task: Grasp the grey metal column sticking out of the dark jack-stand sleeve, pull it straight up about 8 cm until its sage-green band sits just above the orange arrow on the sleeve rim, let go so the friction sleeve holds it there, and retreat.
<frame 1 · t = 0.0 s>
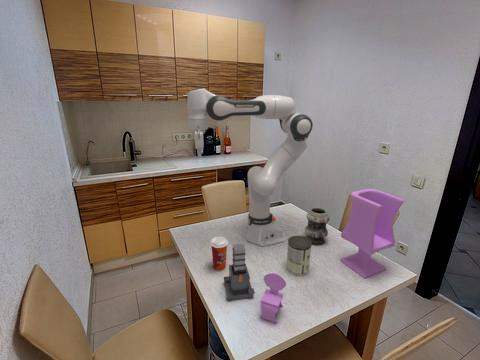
hand: (199, 154, 122), 48 cm above the table, fingers open, 8 cm apart
apothecary jar: (315, 240, 140), on the table
coffee can: (297, 268, 117), on the table
paper cup: (219, 267, 118), on the table
stand: (238, 290, 104), on the table
column: (238, 266, 100), point 11 cm above the table, slide at 0.0 cm
purple pedestal armchair: (362, 265, 120), on the table
toy chair: (271, 312, 93), on the table
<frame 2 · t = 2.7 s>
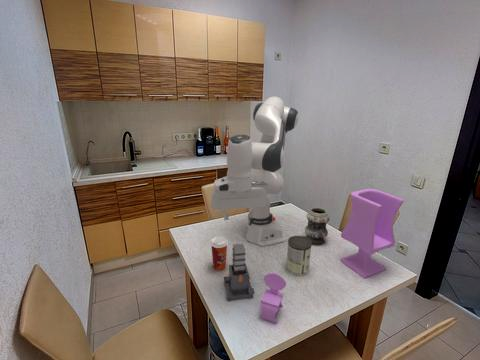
hand: (239, 218, 93), 32 cm above the table, fingers open, 8 cm apart
nothing on the table moved.
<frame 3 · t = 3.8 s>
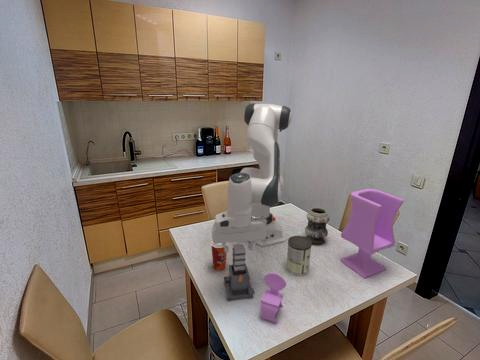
hand: (238, 250, 98), 19 cm above the table, fingers open, 8 cm apart
nothing on the table moved.
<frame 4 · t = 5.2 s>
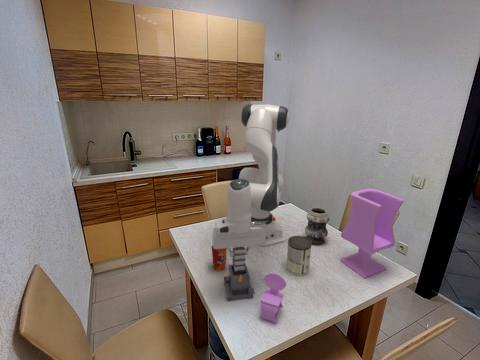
hand: (238, 255, 98), 17 cm above the table, fingers closed on column, 4 cm apart
column: (238, 266, 100), point 11 cm above the table, slide at 0.0 cm, touching gripper
everything else where it was.
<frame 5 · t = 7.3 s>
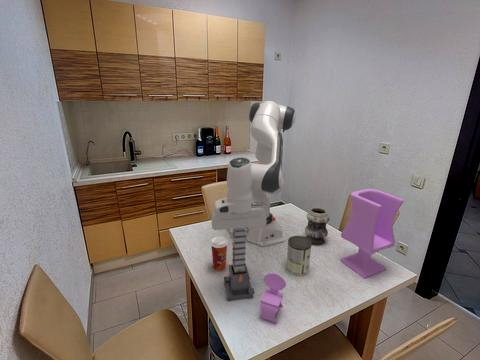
hand: (238, 237, 96), 24 cm above the table, fingers closed on column, 4 cm apart
column: (238, 250, 98), point 19 cm above the table, slide at 7.6 cm, touching gripper
everything else where it was.
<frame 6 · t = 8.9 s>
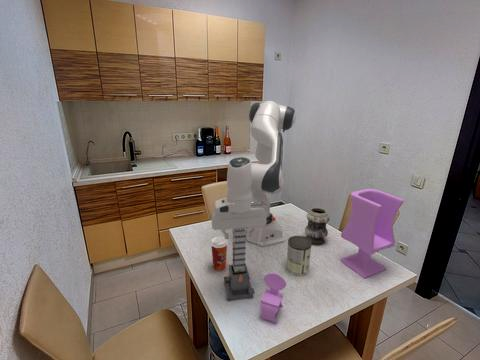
hand: (239, 237, 96), 25 cm above the table, fingers open, 8 cm apart
column: (238, 250, 98), point 19 cm above the table, slide at 7.6 cm
everything else where it was.
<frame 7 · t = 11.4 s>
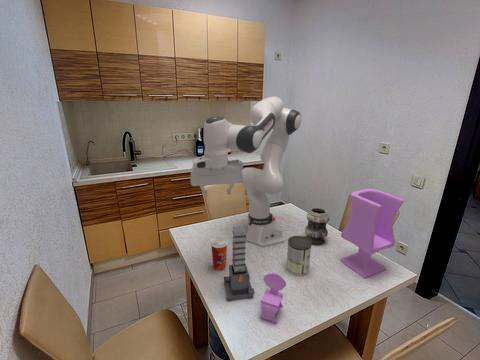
hand: (217, 194, 102), 38 cm above the table, fingers open, 8 cm apart
nothing on the table moved.
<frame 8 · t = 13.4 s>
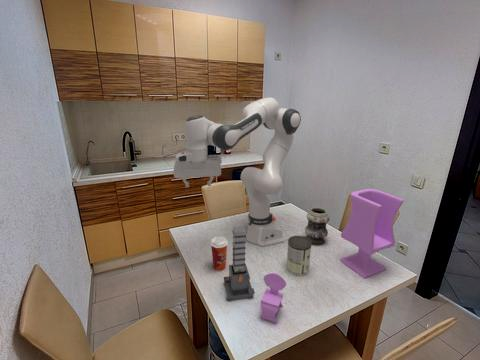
hand: (198, 186, 112), 37 cm above the table, fingers open, 8 cm apart
nothing on the table moved.
at the end: column slide at 7.6 cm; the gripper is holding nothing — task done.
